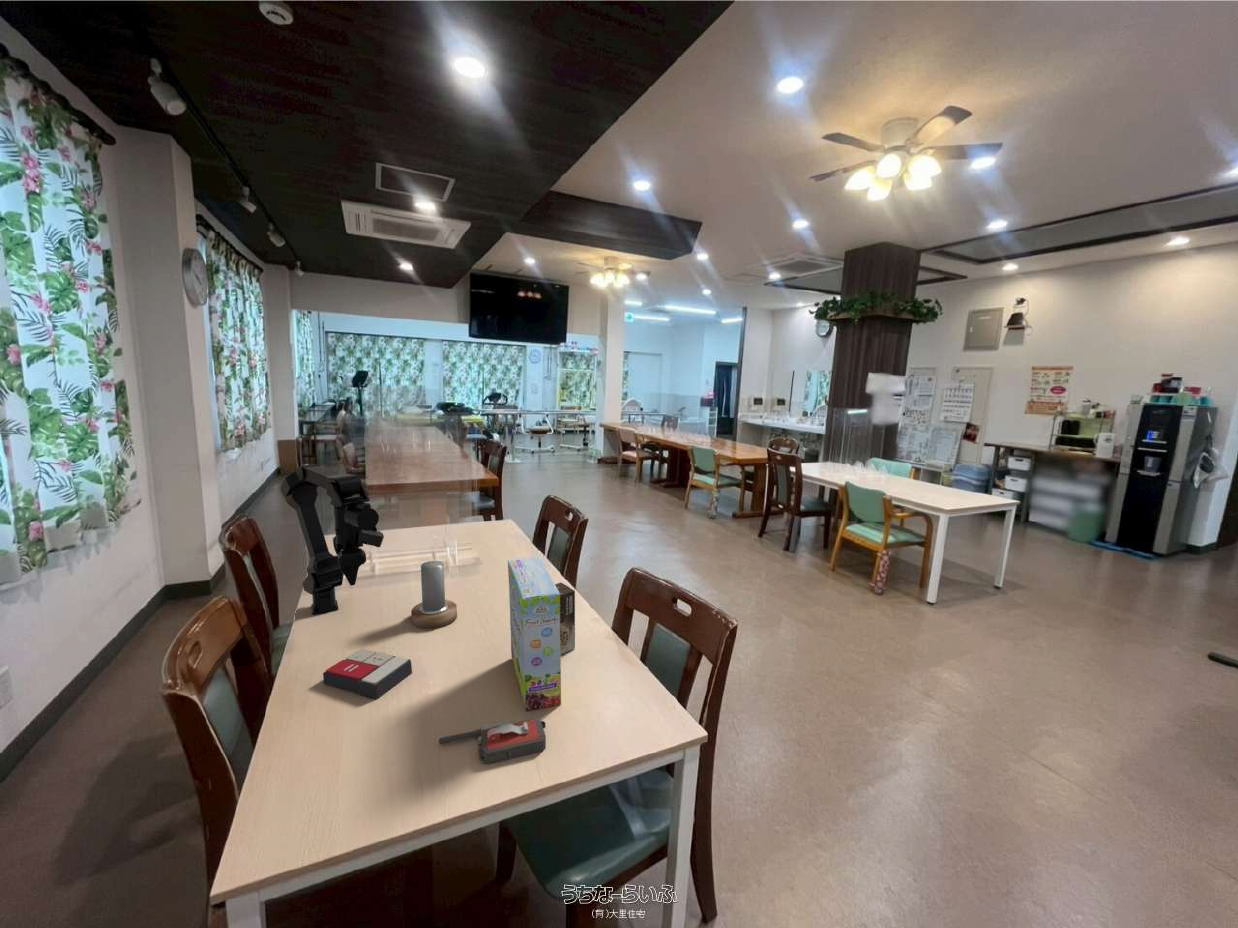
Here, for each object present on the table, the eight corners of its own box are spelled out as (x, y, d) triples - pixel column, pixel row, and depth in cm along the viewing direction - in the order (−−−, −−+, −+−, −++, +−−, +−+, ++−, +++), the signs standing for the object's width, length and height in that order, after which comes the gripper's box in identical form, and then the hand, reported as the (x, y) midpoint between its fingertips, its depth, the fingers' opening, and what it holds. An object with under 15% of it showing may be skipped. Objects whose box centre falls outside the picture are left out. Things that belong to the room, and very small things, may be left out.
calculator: (361, 645, 124) (411, 656, 119) (363, 662, 124) (413, 673, 119) (321, 670, 113) (374, 682, 108) (323, 687, 114) (376, 701, 109)
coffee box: (561, 638, 136) (561, 581, 133) (575, 649, 131) (576, 589, 128) (531, 650, 130) (531, 590, 127) (545, 661, 125) (545, 599, 122)
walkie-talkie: (542, 721, 105) (438, 743, 98) (542, 702, 104) (437, 722, 97) (552, 751, 96) (439, 777, 90) (552, 730, 96) (439, 755, 89)
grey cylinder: (413, 610, 143) (411, 565, 141) (435, 600, 149) (434, 557, 147) (431, 617, 139) (430, 572, 137) (454, 607, 145) (452, 563, 143)
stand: (407, 614, 146) (407, 604, 146) (450, 605, 153) (450, 596, 152) (416, 633, 137) (416, 622, 136) (462, 622, 143) (461, 612, 142)
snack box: (507, 657, 126) (506, 558, 121) (542, 652, 129) (542, 554, 124) (522, 713, 106) (521, 597, 101) (563, 705, 109) (564, 592, 104)
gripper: (386, 528, 132) (389, 585, 135) (375, 510, 147) (378, 562, 150) (336, 534, 126) (341, 594, 129) (331, 515, 141) (334, 569, 144)
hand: (350, 578), depth 138 cm, fingers open, 9 cm apart
